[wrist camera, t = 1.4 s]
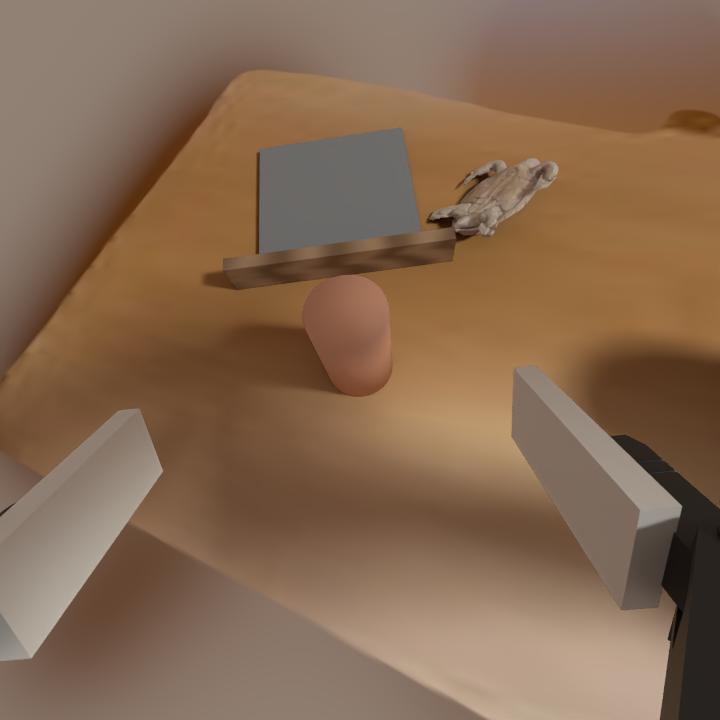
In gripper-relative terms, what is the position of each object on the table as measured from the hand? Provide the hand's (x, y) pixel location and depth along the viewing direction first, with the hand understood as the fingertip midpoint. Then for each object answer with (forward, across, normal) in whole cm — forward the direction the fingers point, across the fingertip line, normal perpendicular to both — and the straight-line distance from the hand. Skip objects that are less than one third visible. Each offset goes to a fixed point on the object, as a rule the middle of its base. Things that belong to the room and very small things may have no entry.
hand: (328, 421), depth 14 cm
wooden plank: (+36, -1, -1) cm, 36 cm away
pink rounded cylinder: (+28, 0, -10) cm, 29 cm away
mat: (+45, -1, +8) cm, 46 cm away
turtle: (+41, +17, +3) cm, 44 cm away
